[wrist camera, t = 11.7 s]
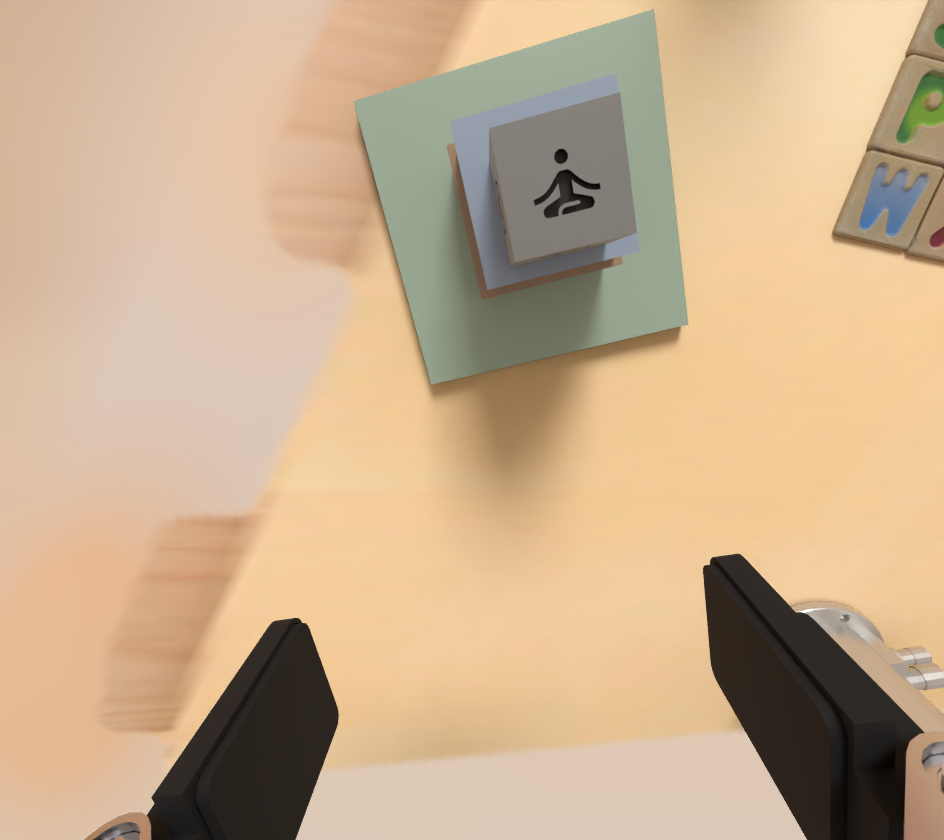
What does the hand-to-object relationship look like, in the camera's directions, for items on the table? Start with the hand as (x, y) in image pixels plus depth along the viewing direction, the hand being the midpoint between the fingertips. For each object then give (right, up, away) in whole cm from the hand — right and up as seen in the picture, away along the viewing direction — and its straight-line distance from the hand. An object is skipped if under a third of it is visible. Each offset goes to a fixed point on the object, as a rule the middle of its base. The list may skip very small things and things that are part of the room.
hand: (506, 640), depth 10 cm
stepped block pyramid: (+3, +20, +23) cm, 30 cm away
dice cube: (+3, +16, +12) cm, 20 cm away
